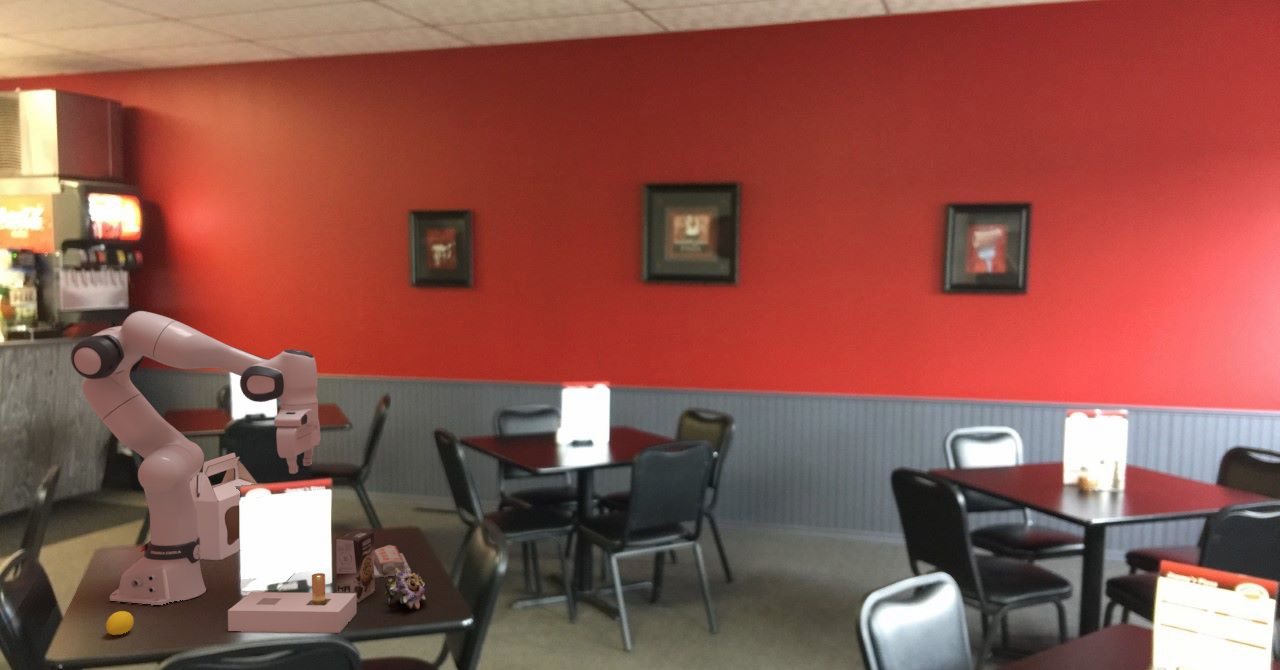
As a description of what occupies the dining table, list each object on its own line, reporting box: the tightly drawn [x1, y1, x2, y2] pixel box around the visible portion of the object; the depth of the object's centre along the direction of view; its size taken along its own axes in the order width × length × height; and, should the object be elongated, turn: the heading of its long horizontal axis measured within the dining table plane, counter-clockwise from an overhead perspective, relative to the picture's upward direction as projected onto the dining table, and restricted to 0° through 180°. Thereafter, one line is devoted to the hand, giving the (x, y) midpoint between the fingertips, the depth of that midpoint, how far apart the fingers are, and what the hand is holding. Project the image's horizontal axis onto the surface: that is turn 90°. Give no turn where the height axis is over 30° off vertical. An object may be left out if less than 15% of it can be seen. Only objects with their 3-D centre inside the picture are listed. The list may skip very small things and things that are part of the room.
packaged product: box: [374, 544, 412, 579], centre depth 278 cm, size 18×5×10 cm
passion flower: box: [382, 568, 426, 610], centre depth 246 cm, size 11×11×12 cm
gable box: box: [190, 452, 259, 561], centre depth 295 cm, size 22×13×28 cm, turn 170°
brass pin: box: [311, 572, 326, 605], centre depth 234 cm, size 3×3×10 cm
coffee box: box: [335, 530, 376, 603], centre depth 253 cm, size 9×6×16 cm
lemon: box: [105, 610, 135, 636], centre depth 227 cm, size 7×5×5 cm
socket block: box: [227, 591, 358, 634], centre depth 235 cm, size 26×13×5 cm, turn 89°
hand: (300, 469), depth 247 cm, fingers open, 8 cm apart
